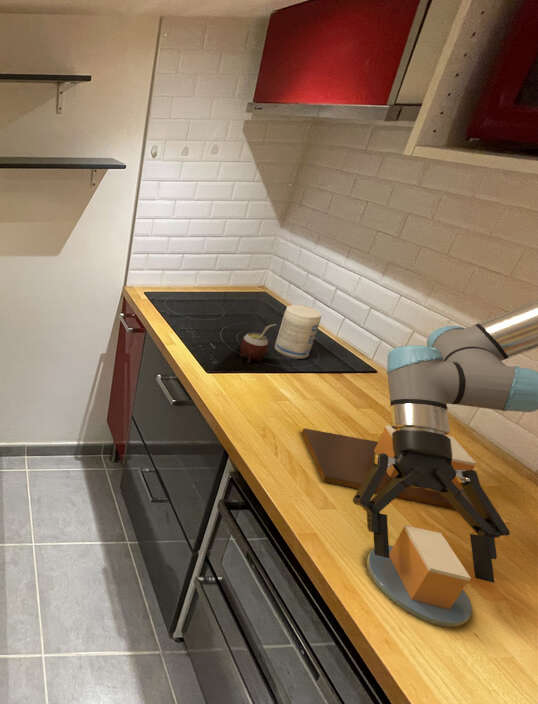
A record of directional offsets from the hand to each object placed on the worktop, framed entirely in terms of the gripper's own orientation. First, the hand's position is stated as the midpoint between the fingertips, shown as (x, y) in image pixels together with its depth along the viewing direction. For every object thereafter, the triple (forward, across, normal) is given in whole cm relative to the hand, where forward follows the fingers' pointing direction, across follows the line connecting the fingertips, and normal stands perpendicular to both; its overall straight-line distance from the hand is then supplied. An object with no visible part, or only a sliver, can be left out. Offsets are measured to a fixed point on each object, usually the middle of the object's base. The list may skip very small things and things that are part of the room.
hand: (432, 568), depth 71 cm
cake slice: (+2, 0, -3) cm, 4 cm away
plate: (+3, 0, -4) cm, 5 cm away
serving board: (-17, -6, -24) cm, 30 cm away
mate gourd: (-47, +12, -54) cm, 73 cm away
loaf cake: (-18, -12, -23) cm, 32 cm away
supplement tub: (-53, -1, -61) cm, 81 cm away
